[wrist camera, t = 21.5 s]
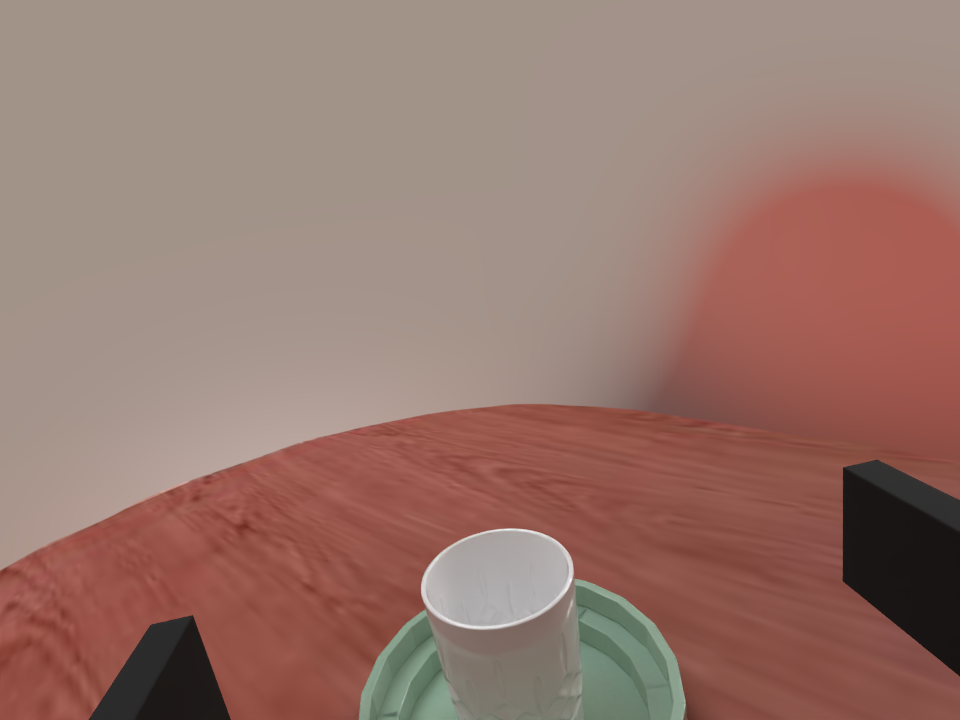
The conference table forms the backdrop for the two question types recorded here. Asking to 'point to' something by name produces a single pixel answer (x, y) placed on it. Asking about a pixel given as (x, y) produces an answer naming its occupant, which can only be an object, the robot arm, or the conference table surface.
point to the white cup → (507, 626)
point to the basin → (604, 660)
